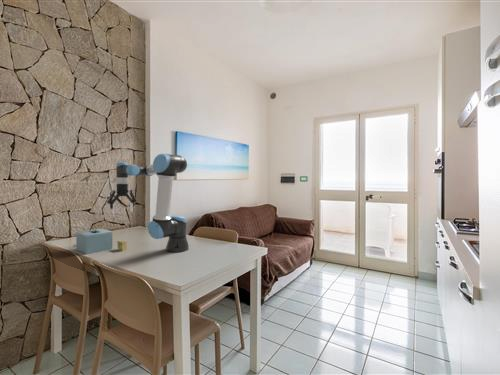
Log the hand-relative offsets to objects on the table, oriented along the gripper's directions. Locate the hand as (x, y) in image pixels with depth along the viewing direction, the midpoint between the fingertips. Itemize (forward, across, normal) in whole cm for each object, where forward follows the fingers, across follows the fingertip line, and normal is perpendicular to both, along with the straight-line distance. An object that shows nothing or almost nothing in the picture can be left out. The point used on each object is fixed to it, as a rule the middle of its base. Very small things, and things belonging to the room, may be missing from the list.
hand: (122, 212), depth 191 cm
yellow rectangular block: (+23, +8, +16) cm, 29 cm away
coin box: (+23, +19, +1) cm, 30 cm away
